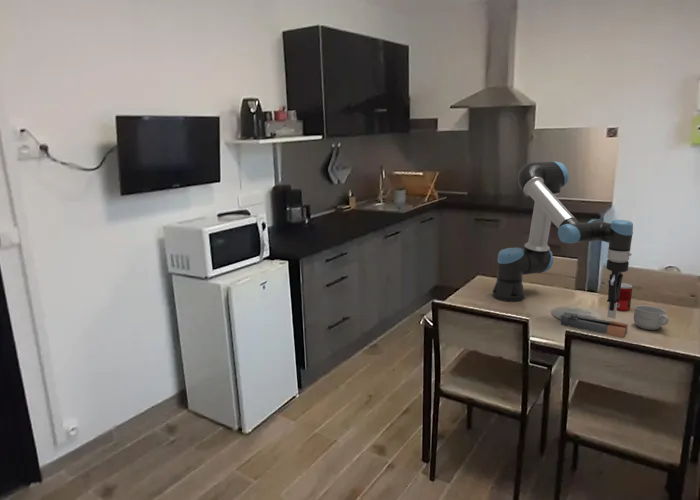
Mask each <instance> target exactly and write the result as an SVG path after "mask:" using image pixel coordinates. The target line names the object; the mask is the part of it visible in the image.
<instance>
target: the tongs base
mask: <svg viewBox="0 0 700 500" xmlns="http://www.w3.org/2000/svg"><path fill="white" fill-rule="evenodd" d="M571 314H573V313H571V312H568V311H565V312H564V313H563V314H561V316H560V324H559V325H561V326H566V327H569V328H570V327H571V328H577V329H582V330H586V331H591V332H595V333H600V334H603V335H604V334H605V335H609V336H614V337H618V338H625V337H626V334H627V333H626V328H623V327H617V326H612V325H604V324H599V323H594V322H589V321H584V320H579V319H577V318H572V317H571Z"/></svg>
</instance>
